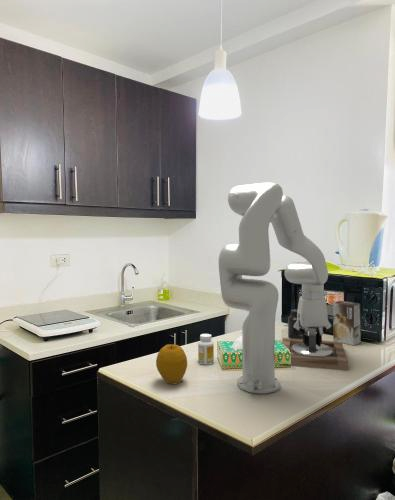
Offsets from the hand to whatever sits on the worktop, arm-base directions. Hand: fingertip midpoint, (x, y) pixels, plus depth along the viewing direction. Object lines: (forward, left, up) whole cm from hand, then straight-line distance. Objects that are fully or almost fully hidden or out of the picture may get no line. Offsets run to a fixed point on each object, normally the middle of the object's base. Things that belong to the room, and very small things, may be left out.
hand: (312, 344), depth 139 cm
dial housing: (0, 0, -4) cm, 4 cm away
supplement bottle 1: (-15, +36, -4) cm, 39 cm away
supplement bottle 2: (+22, +6, -4) cm, 23 cm away
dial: (0, 0, -3) cm, 3 cm away
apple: (-34, +42, -4) cm, 54 cm away
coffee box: (+22, -14, -4) cm, 26 cm away
